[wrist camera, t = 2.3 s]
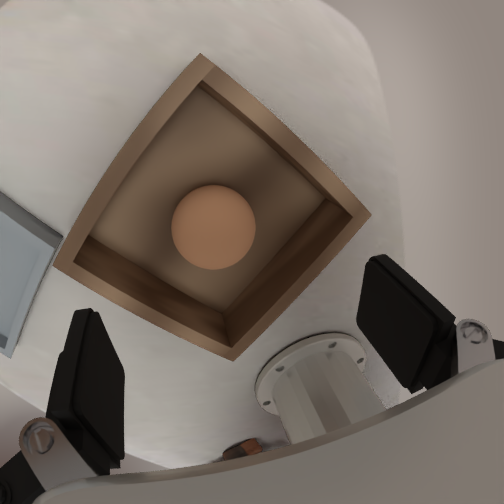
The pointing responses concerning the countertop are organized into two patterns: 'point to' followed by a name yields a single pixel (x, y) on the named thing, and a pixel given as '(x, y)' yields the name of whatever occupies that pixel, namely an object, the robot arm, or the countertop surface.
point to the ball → (213, 227)
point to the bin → (195, 176)
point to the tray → (20, 267)
